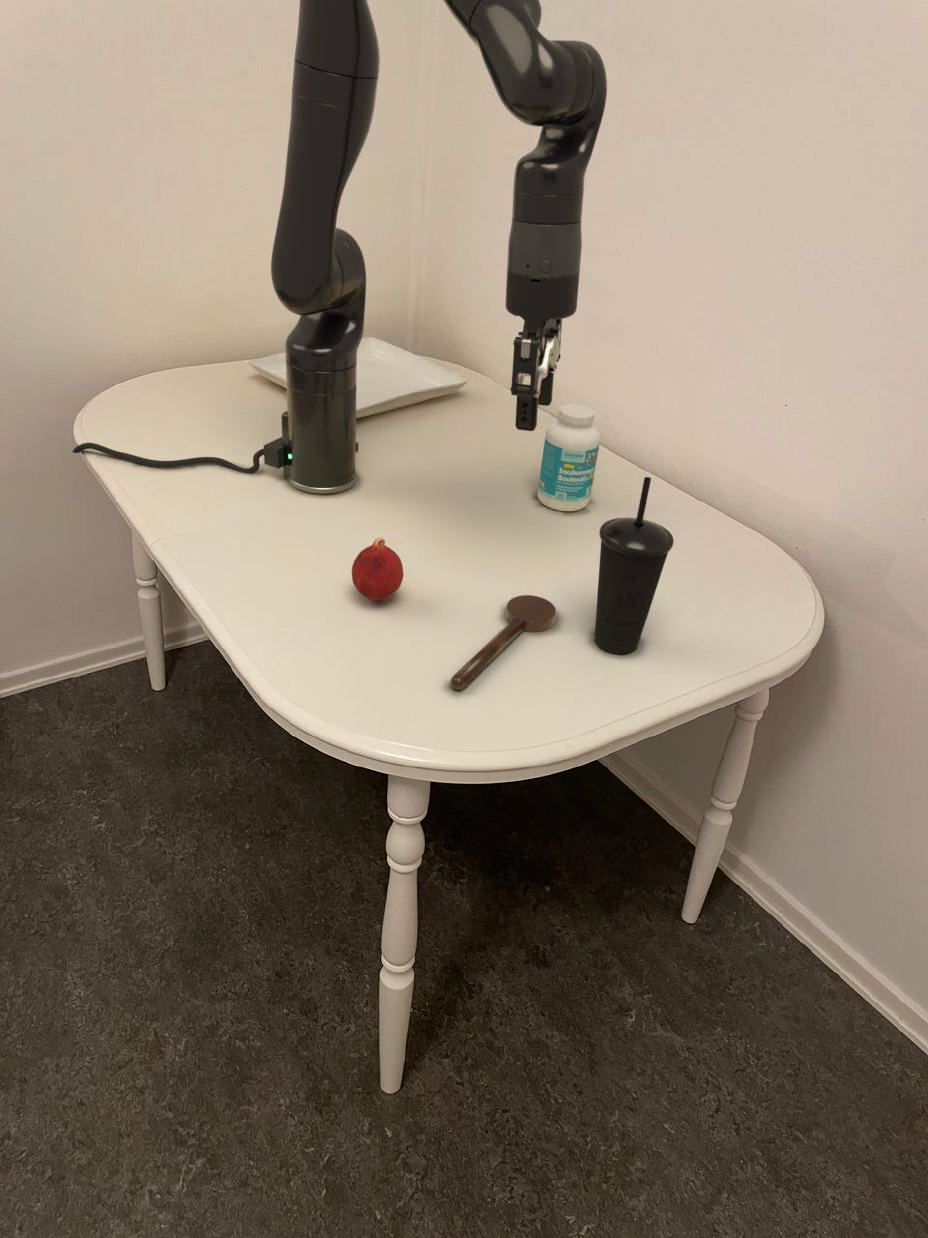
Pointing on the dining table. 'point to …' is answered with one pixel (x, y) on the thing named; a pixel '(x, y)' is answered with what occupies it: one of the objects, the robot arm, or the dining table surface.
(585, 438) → the pill bottle
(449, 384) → the square plate
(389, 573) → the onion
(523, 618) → the spoon
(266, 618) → the dining table surface
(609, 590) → the drinking cup
